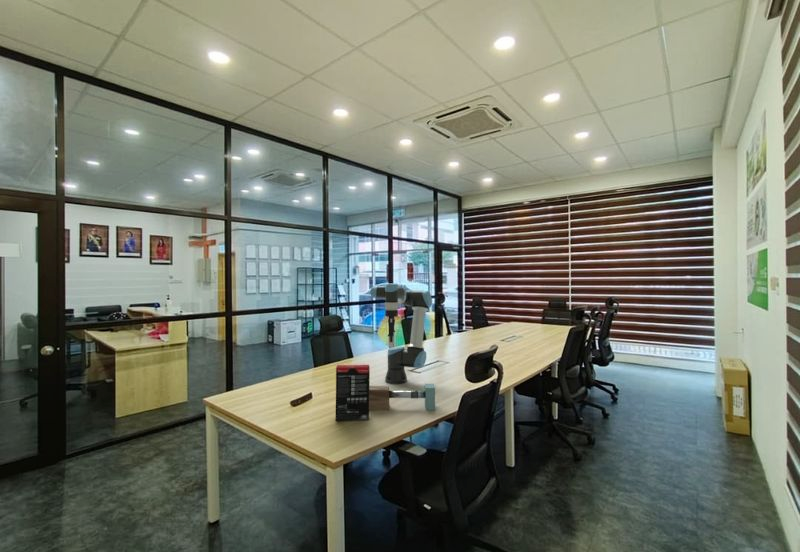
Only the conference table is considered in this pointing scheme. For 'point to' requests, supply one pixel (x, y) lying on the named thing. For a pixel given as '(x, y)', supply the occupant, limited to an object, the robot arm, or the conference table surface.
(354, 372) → the graphics card box
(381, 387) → the brown wooden block
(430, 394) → the teal rectangular block
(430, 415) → the conference table surface
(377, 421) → the conference table surface
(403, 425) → the conference table surface
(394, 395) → the tube
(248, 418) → the conference table surface
